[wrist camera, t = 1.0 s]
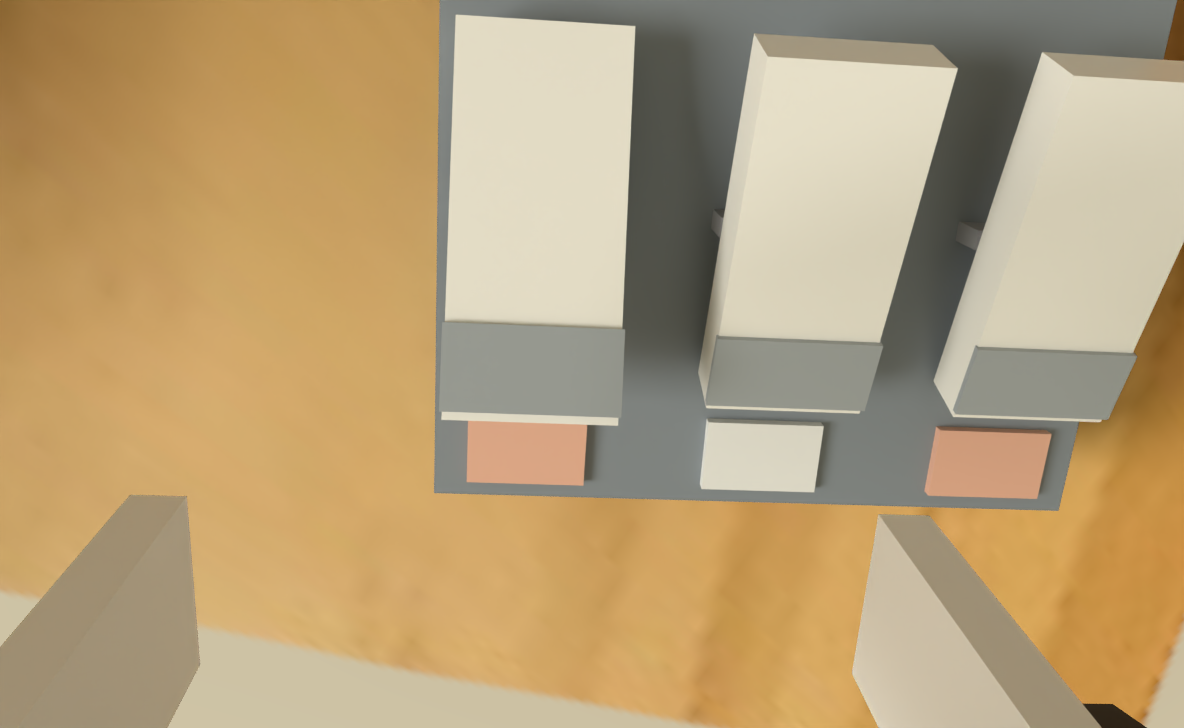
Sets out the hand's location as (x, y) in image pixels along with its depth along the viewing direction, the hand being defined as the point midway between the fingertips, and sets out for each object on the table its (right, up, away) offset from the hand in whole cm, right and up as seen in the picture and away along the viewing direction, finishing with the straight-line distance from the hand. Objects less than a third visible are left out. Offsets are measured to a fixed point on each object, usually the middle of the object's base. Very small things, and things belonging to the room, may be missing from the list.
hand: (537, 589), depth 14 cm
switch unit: (+6, +8, +16) cm, 19 cm away
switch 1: (0, +6, +9) cm, 11 cm away
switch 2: (+6, +6, +9) cm, 13 cm away
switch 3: (+12, +6, +10) cm, 17 cm away
